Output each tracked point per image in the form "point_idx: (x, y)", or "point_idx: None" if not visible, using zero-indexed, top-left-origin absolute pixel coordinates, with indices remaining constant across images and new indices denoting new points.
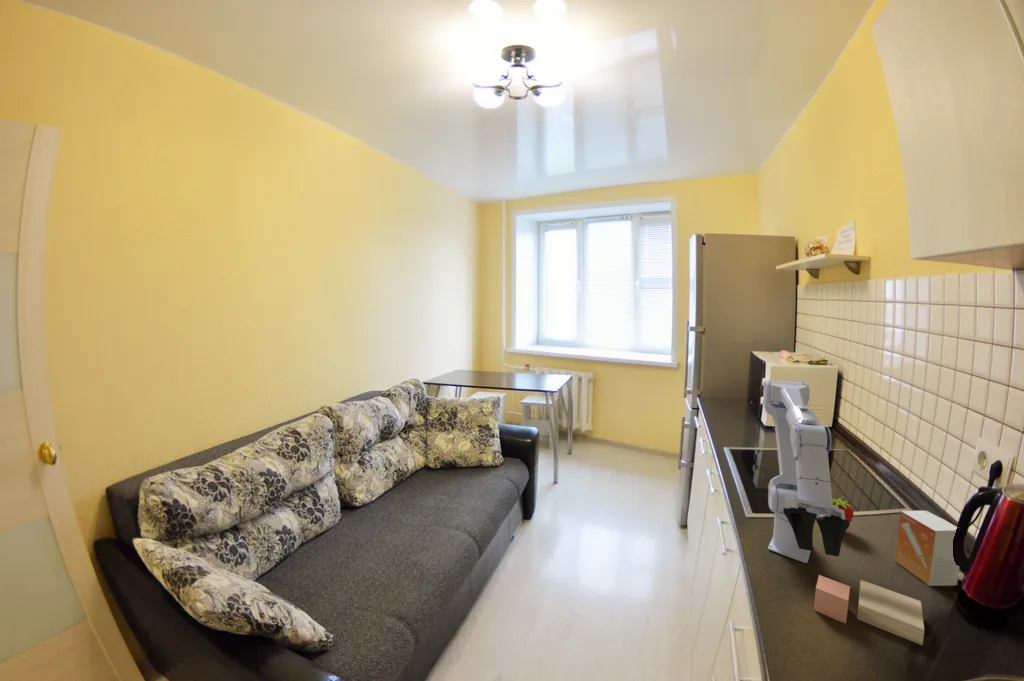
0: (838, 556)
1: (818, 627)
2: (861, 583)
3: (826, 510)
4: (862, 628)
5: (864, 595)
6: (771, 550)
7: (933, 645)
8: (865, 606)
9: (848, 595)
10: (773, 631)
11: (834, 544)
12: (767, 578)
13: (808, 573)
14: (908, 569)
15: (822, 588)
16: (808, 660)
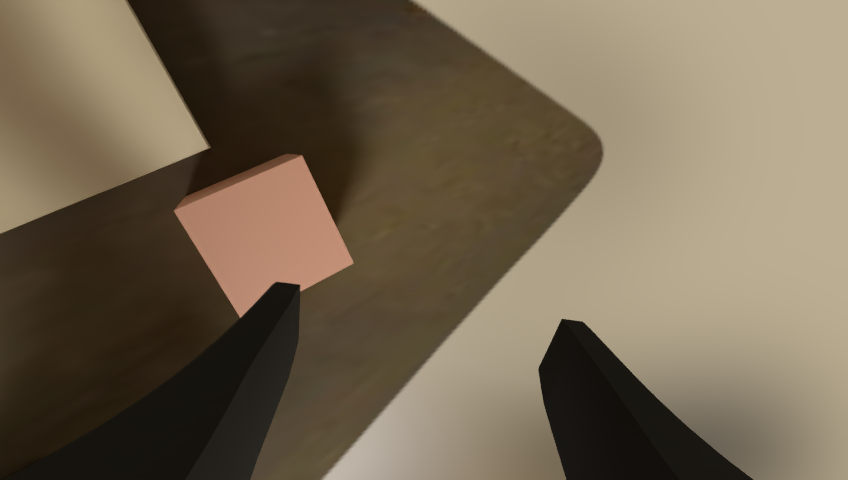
0: (279, 282)
1: (394, 184)
2: None
3: None
4: (249, 111)
5: (97, 169)
6: None
7: None
8: (189, 126)
9: (259, 175)
10: (519, 227)
11: (271, 354)
12: (330, 405)
13: (117, 400)
14: None
15: (329, 250)
16: (530, 126)
